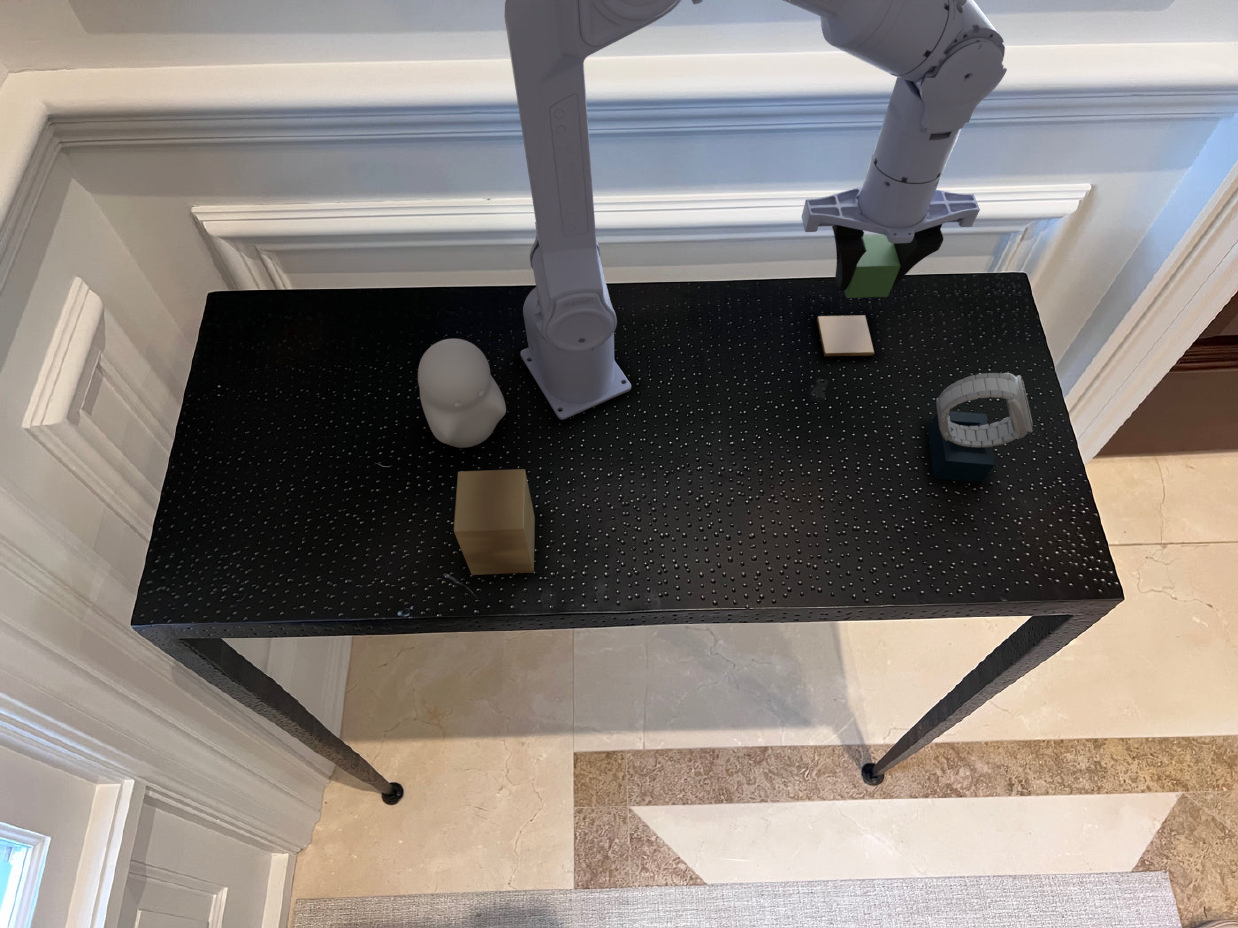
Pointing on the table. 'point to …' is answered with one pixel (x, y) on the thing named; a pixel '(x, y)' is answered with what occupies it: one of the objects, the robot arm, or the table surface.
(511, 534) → the wooden block
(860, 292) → the green block
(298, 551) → the table surface
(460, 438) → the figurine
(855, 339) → the coaster
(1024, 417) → the watch
